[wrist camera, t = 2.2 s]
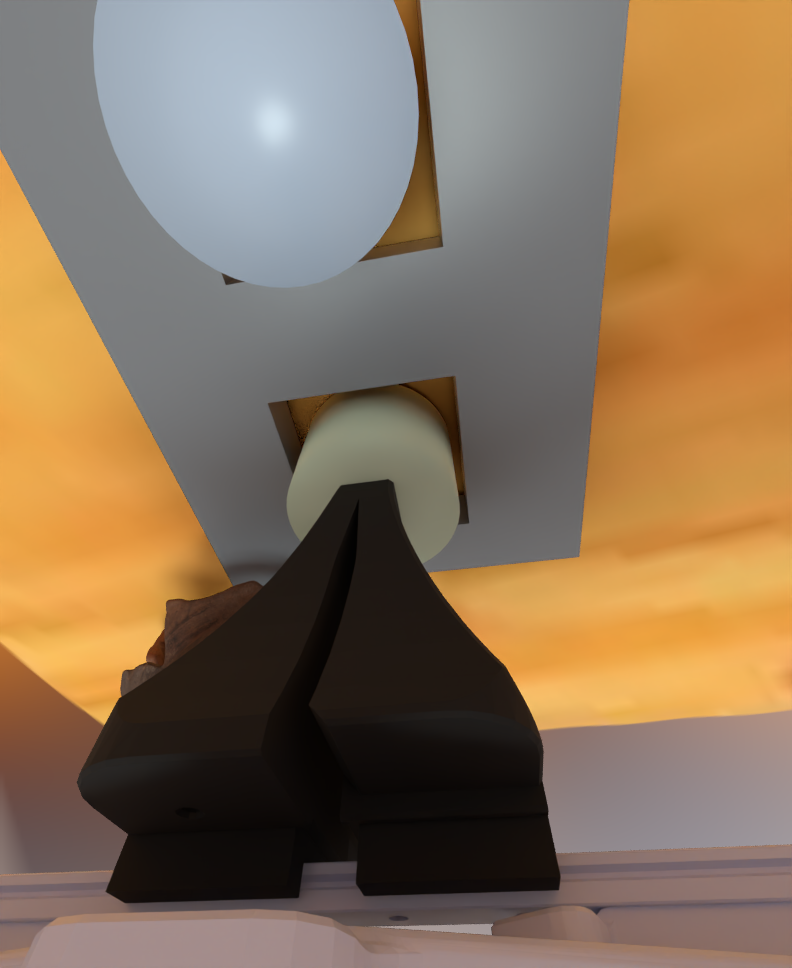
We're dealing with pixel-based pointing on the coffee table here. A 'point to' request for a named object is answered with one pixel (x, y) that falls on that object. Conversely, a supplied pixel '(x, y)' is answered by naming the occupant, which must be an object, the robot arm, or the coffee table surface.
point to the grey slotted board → (360, 278)
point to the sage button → (380, 462)
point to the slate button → (262, 126)
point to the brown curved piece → (188, 629)
